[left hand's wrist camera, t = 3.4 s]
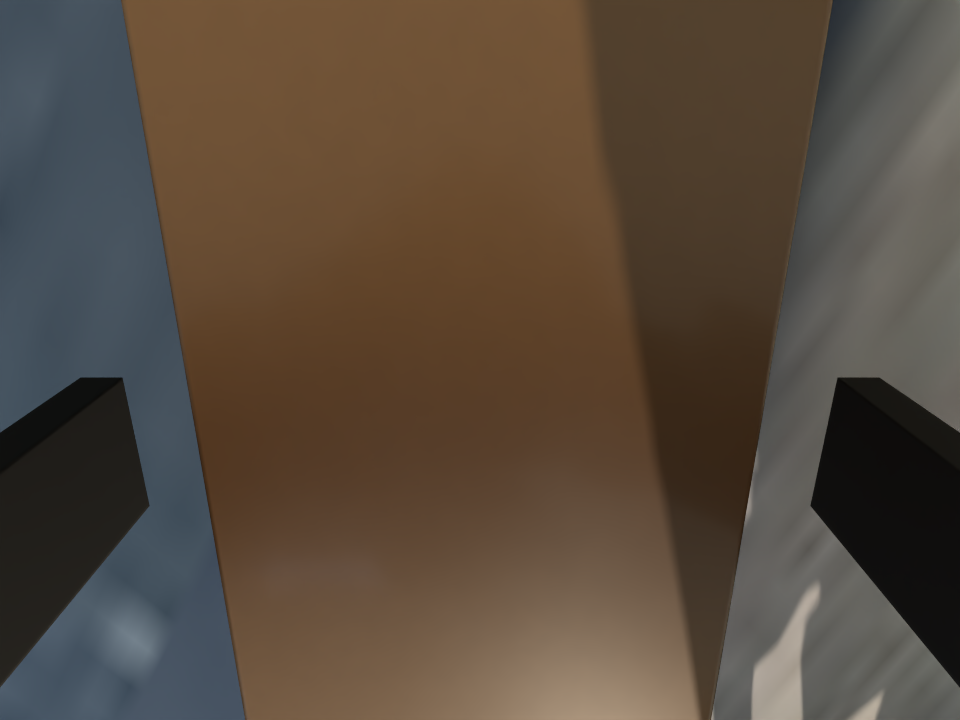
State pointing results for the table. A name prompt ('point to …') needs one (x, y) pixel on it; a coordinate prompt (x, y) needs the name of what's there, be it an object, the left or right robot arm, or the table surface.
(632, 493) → the bar
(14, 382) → the table surface
